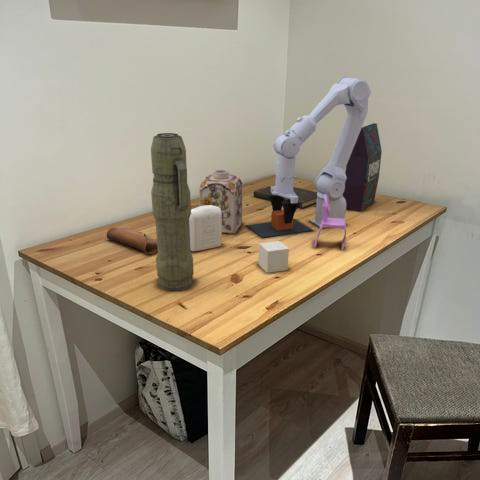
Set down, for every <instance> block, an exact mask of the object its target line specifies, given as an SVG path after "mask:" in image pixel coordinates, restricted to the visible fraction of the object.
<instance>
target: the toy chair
mask: <svg viewBox="0 0 480 480" xmlns="http://www.w3.org/2000/svg"><path fill="white" fill-rule="evenodd" d="M324 201H325V203H323V220H322V221H321V224H320V227H318V231H317V234H316V237H315V240H314V248H317V244H318V241H319V237H320V233H321V231H322V229H323V228H335V229H341V230H344V235H343V238H342V240H341V251H343V250H344V247H345V243H346V240H347V224H346V218H345V219H336V218H328V215H330V213H329V212H330V205H329V197H328V195H327V194H324Z"/></svg>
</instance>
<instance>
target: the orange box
mask: <svg viewBox="0 0 480 480" xmlns="http://www.w3.org/2000/svg"><path fill="white" fill-rule="evenodd" d="M294 216H295V215H294ZM294 216H293V219H295V217H294ZM270 222H271V226H272V227H273V228H275V229H276V230H284V229H291V228H293V220H292V223H288V224H285V221H284V210H283V209H282V210H277V211H273V210H272V211H271V218H270Z"/></svg>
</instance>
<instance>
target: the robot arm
mask: <svg viewBox="0 0 480 480" xmlns="http://www.w3.org/2000/svg"><path fill="white" fill-rule="evenodd" d="M371 93H372V90H371V88H370V85H369V83H368V81H367V80H366V79H364V78H355V77H349V76H342V77H340V78H339V79H338V80H337V81H336V82H335V83H334V84H332V85H331V88H330V90H329V91H328V93H326V95H325V96H324V97H323V98H322V99H321V100H320V101H319V103H318V104H316V106H315V107H314V109H313V110H312V111H311V112H310V113H309V114H308V115H302V116H298V117H297V118H296V119H295V120H296V122H295V123H294V124H293V125H292V126H291V127H290V128H289V129H286V130H285V132H284V134H281V135H279V136H278V137H277V138H276V140H275V143H274V144H273V150H274V152H275V153H276V160H275V161H276V162H275V180H274V181H275V183H274V185H275V186H272V185H270V186H271V192H272V194H269V195H268V197H269V199H270V200H269V201H270V204H271V208H272V209H271V210H272V211H277V210H284V221H285V224H288V223H292V220H293V219H294V218H293V216H295V214H296V211H297V209H298V206H299V205H300V202H299V201H298V196H296V194H295V193H294V191H293V187H295V186H294V184H295V171H296V155H298V154H299V153H300V149H301V146H302V145H303V144H304V143H305V142H306V141H307V140H308V139H309V138H310V137H311V136H312V135H313V133H315V132H316V131H317V124H318V123H319V122H321V120H322V119H324V118H325V117H326V116H327V115H328V114H329V113H330V112H331V111H332V110H334V109H335V108H336V107H337V106H340V105H344V108H345V110H346V113H347V115H346V118H345V120H344V123H343V126H342V129H341V131H340V133H339V136H338V138H337V141H336V143H335V147H334V148H333V151H332V154H331V156H330V158H329V162H328V164H326V166H325V165H324V167H322V169H321V171H320V172H319V174H318V175H317V176H316V177H315V179H314V189H315V190H316V192H317V203H316V205H315V214H314V215H315V216H314V218H311V219H309V222H311V223H312V224H314V225H316V226H318V228H320V224H321V221H322V220H323V203H325V201H324V194H327V195H328V197H329V205H330V212H329V213H330V215H328V218H336V219H345V220H346V212H347V209H346V200H345V198H344V197H343V193H344V190H345V181H346V179H347V177H346V174H345V171H346V165H347V163H348V160H349V158H350V155H351V153H352V150H353V148H354V145H355V143H356V140H357V138H358V135H359V133H360V131H361V128H362V127H364V123H365V120H366V118H367V115H368V112H369V98H370V96H371ZM284 198H285V199H287V201H284Z"/></svg>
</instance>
